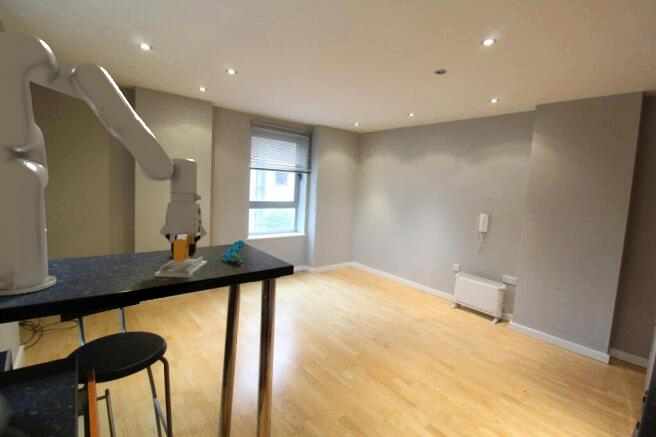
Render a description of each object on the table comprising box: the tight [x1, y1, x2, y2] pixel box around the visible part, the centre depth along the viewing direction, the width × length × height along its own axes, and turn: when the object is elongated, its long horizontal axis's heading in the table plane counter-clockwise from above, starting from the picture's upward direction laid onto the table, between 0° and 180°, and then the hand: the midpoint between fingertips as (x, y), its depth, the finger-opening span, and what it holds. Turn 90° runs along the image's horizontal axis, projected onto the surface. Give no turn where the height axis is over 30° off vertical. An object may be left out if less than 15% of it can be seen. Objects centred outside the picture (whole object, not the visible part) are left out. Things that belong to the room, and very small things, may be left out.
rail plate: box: [154, 256, 208, 279], centre depth 98 cm, size 16×10×3 cm, turn 4°
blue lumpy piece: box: [221, 239, 245, 263], centre depth 112 cm, size 11×6×10 cm
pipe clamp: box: [173, 233, 198, 262], centre depth 97 cm, size 12×4×6 cm, turn 4°
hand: (183, 254), depth 97 cm, fingers closed on pipe clamp, 4 cm apart
